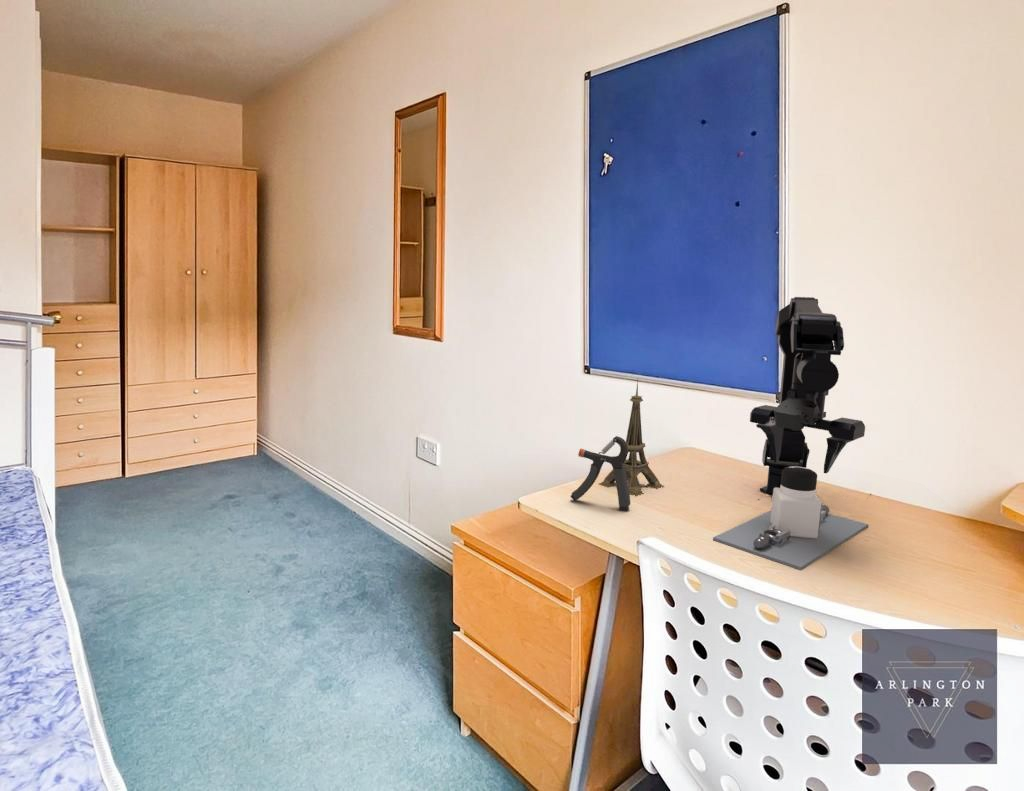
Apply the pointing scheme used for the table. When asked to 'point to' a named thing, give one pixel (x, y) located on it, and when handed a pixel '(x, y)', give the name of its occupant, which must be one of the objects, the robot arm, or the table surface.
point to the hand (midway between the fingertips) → (800, 467)
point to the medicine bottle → (797, 503)
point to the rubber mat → (792, 540)
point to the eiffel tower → (634, 454)
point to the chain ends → (779, 533)
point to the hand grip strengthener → (617, 469)
